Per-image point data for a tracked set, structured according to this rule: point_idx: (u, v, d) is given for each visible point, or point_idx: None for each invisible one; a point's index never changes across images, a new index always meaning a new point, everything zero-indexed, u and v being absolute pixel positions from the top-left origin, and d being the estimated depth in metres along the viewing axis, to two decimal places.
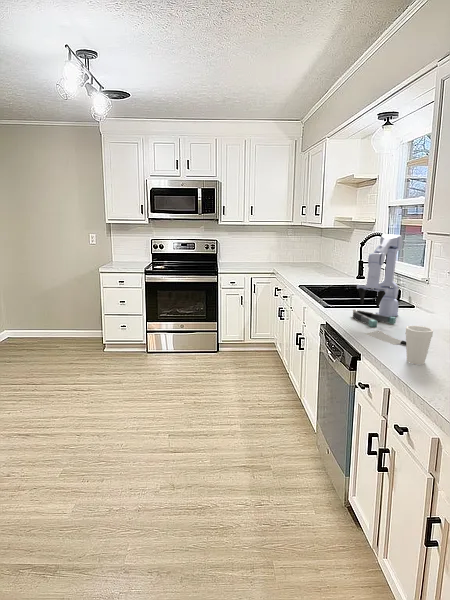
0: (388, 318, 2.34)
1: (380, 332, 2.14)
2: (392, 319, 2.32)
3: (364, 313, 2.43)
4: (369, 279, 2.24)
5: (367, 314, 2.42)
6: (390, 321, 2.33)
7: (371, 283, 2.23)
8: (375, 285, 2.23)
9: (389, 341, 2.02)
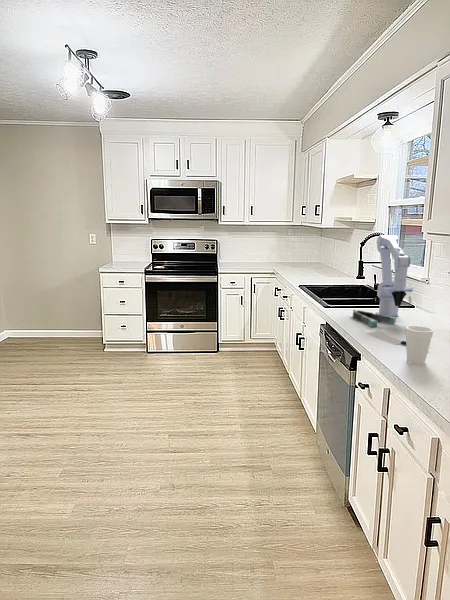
0: (388, 318, 2.34)
1: (380, 332, 2.14)
2: (392, 319, 2.32)
3: (364, 313, 2.43)
4: (401, 282, 2.32)
5: (367, 314, 2.42)
6: (390, 321, 2.33)
7: (403, 286, 2.32)
8: None
9: (389, 341, 2.02)
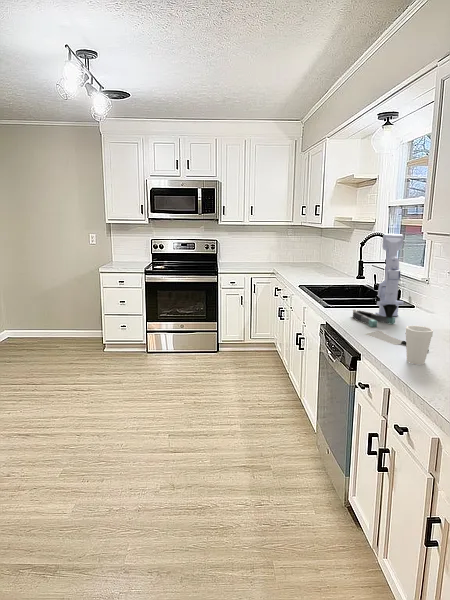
0: (387, 318, 2.33)
1: (380, 332, 2.14)
2: (391, 319, 2.32)
3: (364, 313, 2.43)
4: (392, 296, 2.32)
5: (367, 314, 2.41)
6: (389, 321, 2.33)
7: (394, 299, 2.33)
8: (396, 300, 2.34)
9: (390, 341, 2.01)
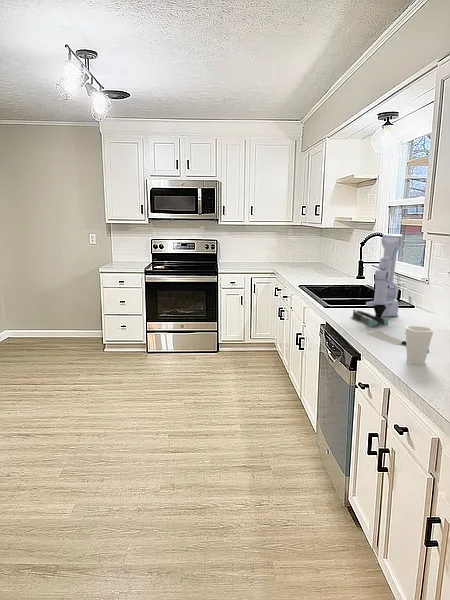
0: (380, 320, 2.30)
1: (381, 332, 2.13)
2: (383, 321, 2.28)
3: (362, 313, 2.42)
4: (381, 296, 2.30)
5: (364, 315, 2.40)
6: (382, 323, 2.29)
7: (384, 300, 2.31)
8: (385, 301, 2.32)
9: (390, 341, 2.01)
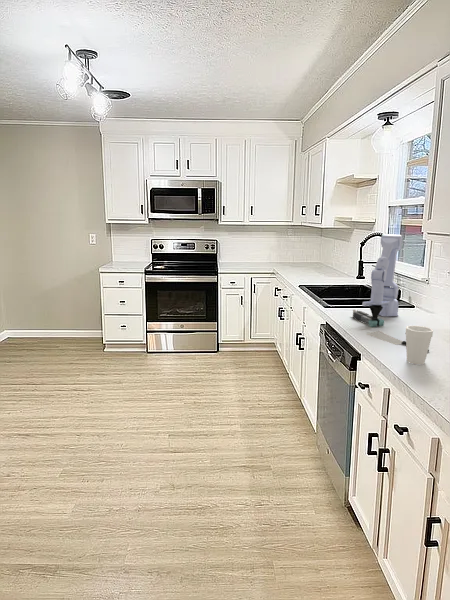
0: (376, 320, 2.29)
1: (381, 332, 2.13)
2: (378, 321, 2.27)
3: (361, 313, 2.41)
4: (377, 296, 2.30)
5: None
6: (377, 323, 2.28)
7: (380, 300, 2.30)
8: (382, 301, 2.32)
9: (390, 341, 2.01)
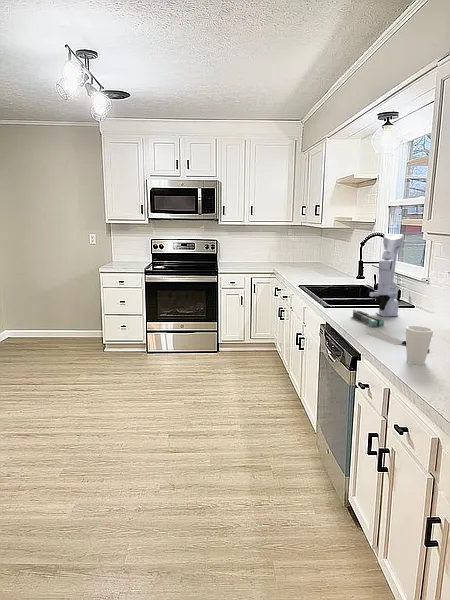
0: (376, 320, 2.29)
1: (381, 332, 2.13)
2: (378, 321, 2.27)
3: (361, 313, 2.41)
4: (385, 286, 2.30)
5: None
6: (377, 323, 2.28)
7: (387, 290, 2.30)
8: (389, 291, 2.32)
9: (390, 341, 2.01)
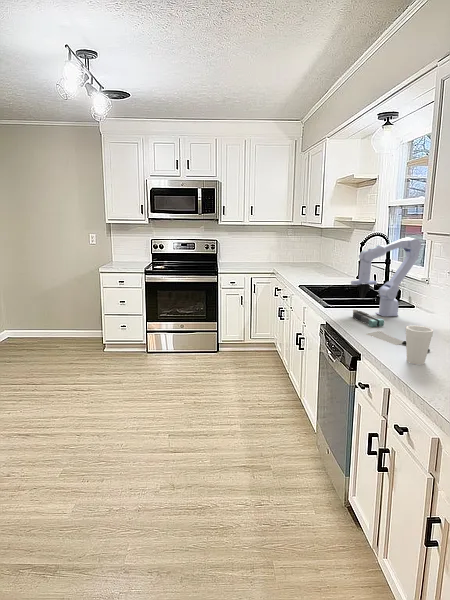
0: (376, 320, 2.29)
1: (381, 332, 2.13)
2: (378, 321, 2.27)
3: (361, 313, 2.41)
4: (365, 276, 2.45)
5: None
6: (377, 323, 2.28)
7: (367, 279, 2.46)
8: (369, 280, 2.47)
9: (391, 341, 2.01)
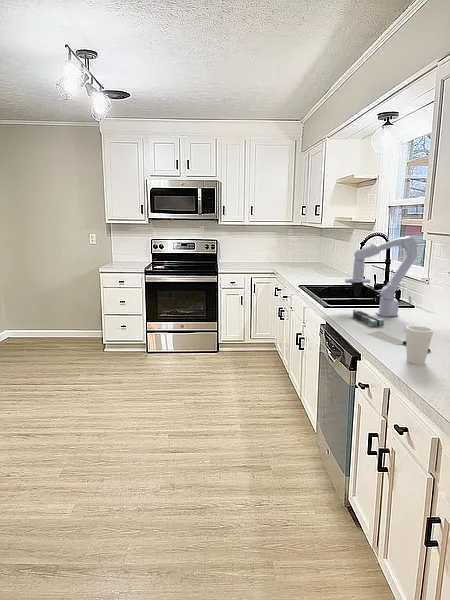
0: (376, 320, 2.29)
1: (381, 332, 2.13)
2: (378, 321, 2.27)
3: (361, 313, 2.41)
4: (359, 274, 2.51)
5: None
6: (377, 323, 2.28)
7: (361, 277, 2.51)
8: None
9: (391, 341, 2.01)
